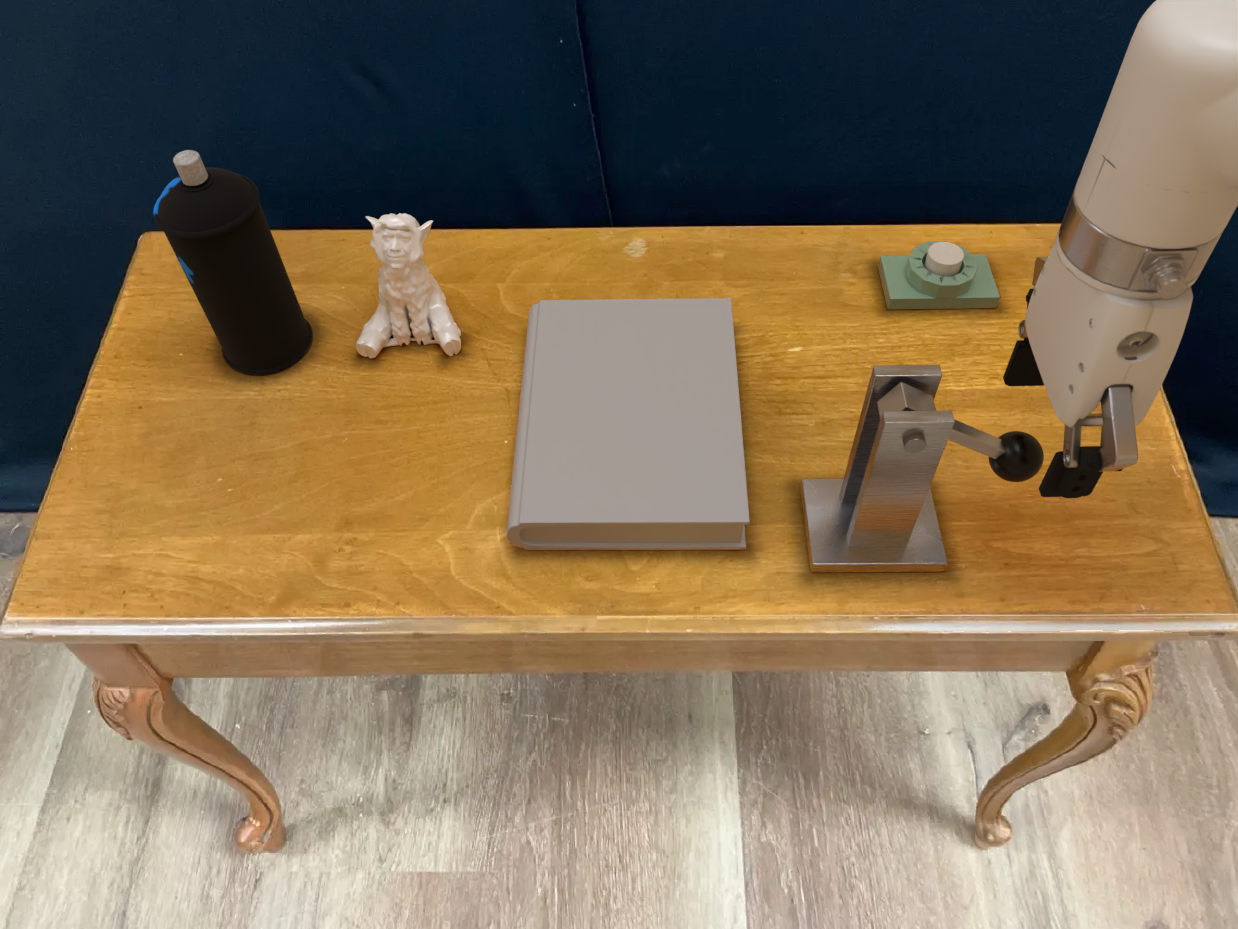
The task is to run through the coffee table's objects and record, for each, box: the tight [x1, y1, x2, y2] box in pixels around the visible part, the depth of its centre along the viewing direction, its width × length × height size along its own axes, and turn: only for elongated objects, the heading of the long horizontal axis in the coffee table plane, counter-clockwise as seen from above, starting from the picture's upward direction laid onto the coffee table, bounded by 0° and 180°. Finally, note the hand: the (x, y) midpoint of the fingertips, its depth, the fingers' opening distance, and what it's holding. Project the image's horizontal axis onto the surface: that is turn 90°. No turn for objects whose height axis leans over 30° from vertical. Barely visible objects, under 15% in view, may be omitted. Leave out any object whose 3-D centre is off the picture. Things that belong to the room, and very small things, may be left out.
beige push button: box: [925, 241, 964, 277], centre depth 89 cm, size 3×3×2 cm
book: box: [505, 297, 750, 551], centre depth 80 cm, size 18×4×24 cm
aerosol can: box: [152, 149, 313, 376], centre depth 81 cm, size 8×8×20 cm
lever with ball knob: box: [877, 382, 1045, 483], centre depth 66 cm, size 13×4×4 cm, turn 89°
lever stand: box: [799, 364, 955, 573], centre depth 69 cm, size 10×8×16 cm
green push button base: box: [877, 240, 1001, 310], centre depth 90 cm, size 10×6×3 cm, turn 89°
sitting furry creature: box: [354, 212, 462, 360], centre depth 85 cm, size 10×9×12 cm
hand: (1043, 435), depth 66 cm, fingers open, 9 cm apart
